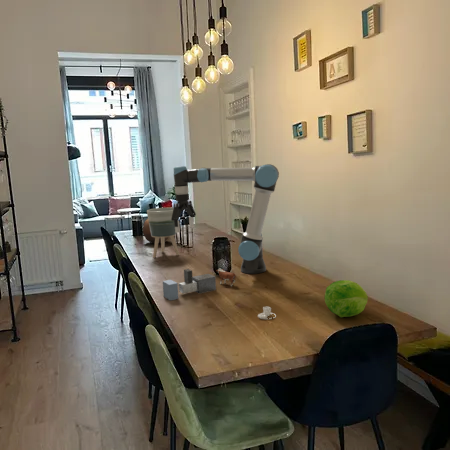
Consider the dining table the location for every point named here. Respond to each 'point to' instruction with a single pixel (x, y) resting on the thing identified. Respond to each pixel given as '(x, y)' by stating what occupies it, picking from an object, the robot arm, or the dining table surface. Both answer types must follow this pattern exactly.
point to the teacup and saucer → (266, 313)
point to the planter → (162, 227)
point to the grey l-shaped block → (188, 283)
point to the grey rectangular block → (205, 283)
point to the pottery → (149, 233)
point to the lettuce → (345, 298)
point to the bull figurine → (226, 276)
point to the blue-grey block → (170, 289)
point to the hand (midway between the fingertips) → (185, 230)
